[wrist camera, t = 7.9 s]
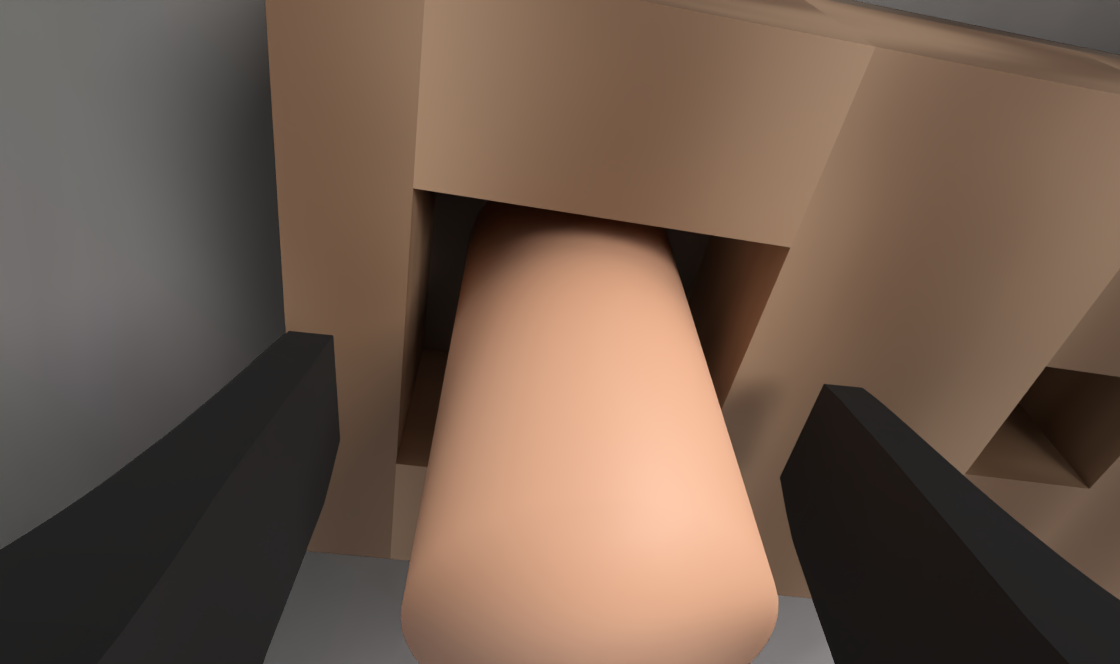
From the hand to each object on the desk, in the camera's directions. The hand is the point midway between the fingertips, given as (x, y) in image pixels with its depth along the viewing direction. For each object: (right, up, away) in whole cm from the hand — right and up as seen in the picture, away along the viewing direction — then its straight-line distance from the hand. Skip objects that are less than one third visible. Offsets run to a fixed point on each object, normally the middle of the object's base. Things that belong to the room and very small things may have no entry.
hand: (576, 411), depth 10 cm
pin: (0, +3, +4) cm, 5 cm away
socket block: (+4, +2, +5) cm, 7 cm away
